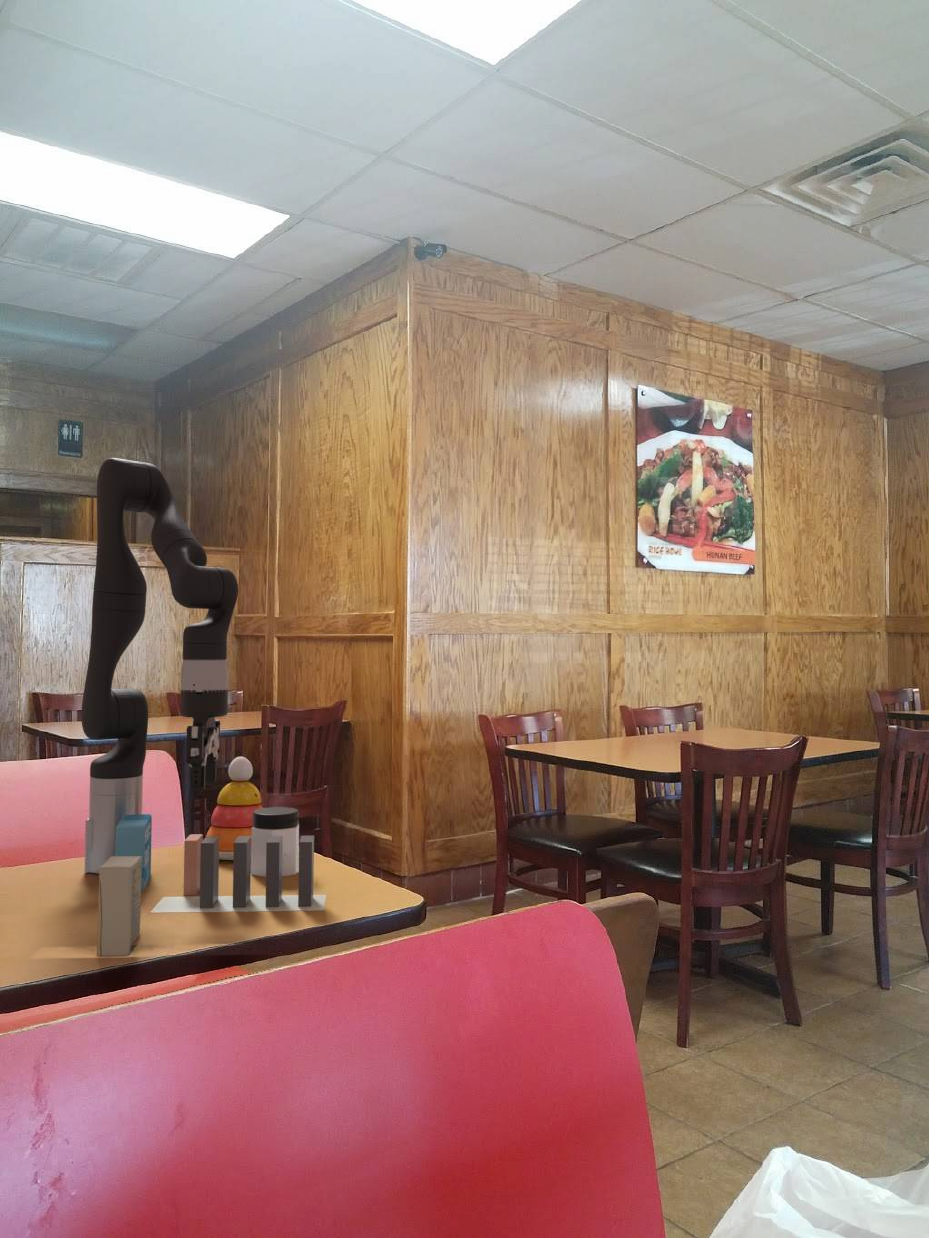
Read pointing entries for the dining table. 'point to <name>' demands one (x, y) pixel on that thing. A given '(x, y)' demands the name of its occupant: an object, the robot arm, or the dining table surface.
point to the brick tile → (192, 864)
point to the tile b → (209, 872)
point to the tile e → (306, 871)
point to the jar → (275, 824)
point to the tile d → (274, 871)
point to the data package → (136, 841)
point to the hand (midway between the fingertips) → (203, 786)
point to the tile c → (241, 871)
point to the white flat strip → (227, 904)
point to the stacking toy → (235, 808)
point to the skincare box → (119, 905)
